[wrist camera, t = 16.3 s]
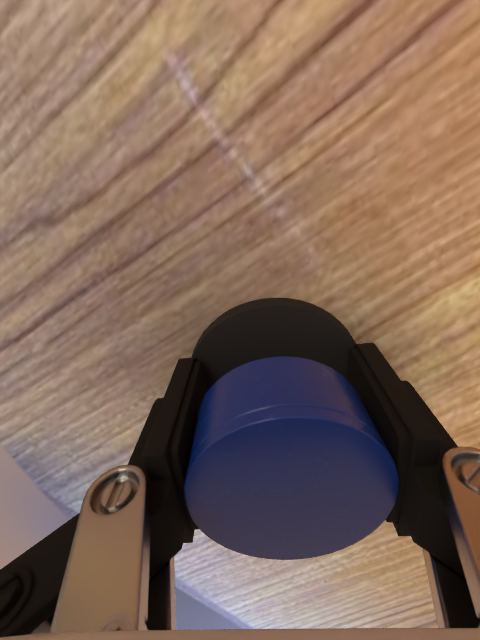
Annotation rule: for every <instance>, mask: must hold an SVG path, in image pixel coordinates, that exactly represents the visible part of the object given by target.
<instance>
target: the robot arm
mask: <svg viewBox="0 0 480 640" xmlns="http://www.w3.org/2000/svg"><path fill="white" fill-rule="evenodd" d="M347 380H348V381H349V382H350V383H351V385H352V386H353V387H354V388H355V390H356V392H357V393H358V395H359V397H360V399H361V401H362V402H363V404H364V406H365V408H366V410H367V412H368V414H369V415H370V417H371V419H372V421H373V423H374V425H375V427H376V428H377V430H378V432H379V434H380V436H381V438H382V439H383V441H384V443H385V445H386V447H387V449H388V451H389V452H390V454H391V456H392V458H393V460H394V462H395V465H396V467H397V470H398V476H399V492H398V496H397V500H396V502H395V505H394V507H393V509H392V511H391V512H390V514H389V515H388V517H387V518H386V519H385V520H386V521H387V522H393V524H394V526H395V529H396V531H397V534H398V536H411V537H412V539H413V542H415V543H416V544H417V545H419V546H420V547H422V548H423V553H424V558H425V563H426V568H427V573H428V578H429V583H430V588H431V594H432V599H433V604H434V609H435V614H436V619H437V624H438V628H353V629H227V630H226V629H224V630H223V629H222V630H176V606H175V571H174V556H175V555H176V554H177V553H178V552H179V551H180V550H181V549H182V544H183V543H192V542H193V536H194V530H195V529H199V528H198V526H197V525H196V524H195V523H194V521H193V520H192V518H191V517H190V515H189V512H188V510H187V507H186V504H185V499H184V484H185V479H186V474H187V468H188V463H189V458H190V452H191V447H192V442H193V436H194V431H195V426H196V420H197V415H198V410H199V407H200V405H201V402H202V400H203V398H204V396H205V395H206V393H207V392H208V385H207V381H206V376H205V371H204V366H203V362H202V361H197V359H196V358H183V359H179V360H178V363H177V365H176V368H175V370H174V373H173V375H172V378H171V381H170V383H169V386H168V388H167V391H166V393H165V396H164V398H158V399H156V400H155V402H154V404H153V406H152V409H151V411H150V414H149V416H148V418H147V421H146V423H145V425H144V428H143V430H142V432H141V435H140V437H139V439H138V442H137V444H136V446H135V449H134V451H133V454H132V456H131V458H130V461H129V463H128V465H122V466H117V467H115V468H112V469H110V470H108V471H107V472H105V473H103V474H102V475H101V476H99V477H98V478H97V479H96V480H95V481H94V482H93V483H92V485H91V486H90V487H89V489H88V490H87V492H86V495H85V497H84V499H83V503H82V507H81V511H80V513H79V514H77V515H76V516H75V517H73V518H72V519H70V520H69V521H68V522H66V523H65V524H63V525H62V526H61V527H59V528H58V529H57V530H55V531H54V532H52V533H51V534H50V535H48V536H47V537H45V538H44V539H43V540H41V541H40V542H38V543H37V544H36V545H34V546H33V547H31V548H30V549H29V550H27V551H26V552H25V553H23V554H22V555H20V556H19V557H18V558H16V559H15V560H13V561H12V562H10V563H9V564H8V565H6V566H5V567H4V568H2V569H1V570H0V640H480V449H477V448H473V447H458V446H457V445H456V443H455V442H454V441H453V439H452V438H451V437H450V435H449V434H448V433H447V431H446V430H445V429H444V427H443V426H442V425H441V424H440V422H439V421H438V420H437V418H436V417H435V416H434V414H433V413H432V412H431V410H430V409H429V408H428V406H427V405H426V404H425V402H424V401H423V400H422V398H421V397H420V396H419V394H418V393H417V392H416V390H415V389H414V388H413V386H412V385H411V384H410V383H409V382H408V381H401V380H400V379H399V377H398V376H397V375H396V373H395V372H394V370H393V369H392V368H391V366H390V365H389V363H388V362H387V361H386V359H385V358H384V356H383V355H382V354H381V352H380V351H379V349H378V348H377V347H376V345H375V344H374V343H364V344H355V345H354V349H349V351H348V371H347Z"/></svg>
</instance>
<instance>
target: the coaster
mask: <svg viewBox="0 0 480 640" xmlns="http://www.w3.org/2000/svg"><path fill="white" fill-rule="evenodd" d="M355 344H356V343H355V341H354V340H353V338H352V337H351V335H350V333H349V332H348V330H347V329H346V328H345V327H344V326H343V324H342V323H341V322H340V321H339V320H337V319H336V318H335V317H334V316H333V315H331V314H330V313H328V312H327V311H325V310H323V309H322V308H319V307H317V306H315V305H313V304H310V303H307V302H303V301H300V300H294V299H288V298H268V299H260V300H255V301H251V302H248V303H245V304H242V305H239V306H237V307H235V308H233V309H231V310H229V311H227V312H226V313H224V314H222V315H221V316H219V317H218V318H217V319H216V320H215V321H214V322H212V323H211V324H210V325H209V327H208V328H207V329H206V330H205V331H204V332H203V334H202V336H201V337H200V339H199V340H198V342H197V345H196V347H195V349H194V352H193V355H192V358H196V359H197V361H202V362H203V366H204V371H205V376H206V381H207V385H208V390H209V389H210V388H211V387H212V385H213V384H215V383H216V382H217V381H218V380H219V379H220V378H221V377H222V376H224V375H225V374H227V373H228V372H229V371H231V370H233V369H235V368H237V367H238V366H241V365H243V364H246V363H248V362H251V361H255V360H258V359H262V358H269V357H279V356H289V357H300V358H305V359H310V360H313V361H316V362H319V363H322V364H324V365H326V366H328V367H330V368H332V369H334V370H335V371H337V372H338V373H340V374H341V375H342V376H343V377H345V378H346V379H347V371H348V351H349V349H354V345H355Z"/></svg>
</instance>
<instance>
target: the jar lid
mask: <svg viewBox="0 0 480 640" xmlns="http://www.w3.org/2000/svg"><path fill="white" fill-rule="evenodd" d="M398 492H399V476H398V470H397V467H396V465H395V462H394V460H393V458H392V456H391V454H390V452H389V451H388V449H387V447H386V445H385V443H384V441H383V439H382V438H381V436H380V434H379V432H378V430H377V428H376V427H375V425H374V423H373V421H372V419H371V417H370V415H369V414H368V412H367V410H366V408H365V406H364V404H363V402H362V401H361V399H360V397H359V395H358V393H357V392H356V390H355V388H354V387H353V386H352V385H351V383H350V382H349V381H348V380H347V379H346V378H345V377H343V376H342V375H341V374H340V373H338V372H337V371H335V370H334V369H332V368H330V367H328V366H326V365H324V364H322V363H319V362H316V361H313V360H310V359H305V358H300V357H289V356H279V357H269V358H262V359H258V360H255V361H251V362H248V363H246V364H243V365H241V366H238V367H237V368H235V369H233V370H231V371H229V372H228V373H227V374H225V375H224V376H222V377H221V378H220V379H219V380H218V381H217V382H216V383H215V384H213V385H212V387H211V388H210V389H209V390H208V392H207V393H206V395H205V396H204V398H203V400H202V402H201V405H200V407H199V410H198V415H197V420H196V426H195V431H194V436H193V442H192V447H191V452H190V458H189V463H188V468H187V474H186V479H185V484H184V499H185V504H186V507H187V510H188V512H189V515H190V517H191V518H192V520H193V521H194V523H195V524H196V525H197V526H198V528H199V529H200V530H201V531H202V532H203V533H204V534H206V535H207V536H208V537H209V538H211V539H212V540H214V541H215V542H217V543H218V544H220V545H222V546H224V547H226V548H228V549H231V550H233V551H236V552H239V553H242V554H245V555H249V556H254V557H258V558H266V559H277V560H295V559H305V558H312V557H317V556H322V555H326V554H329V553H333V552H336V551H339V550H341V549H344V548H346V547H348V546H351V545H353V544H355V543H356V542H358V541H360V540H362V539H363V538H365V537H366V536H368V535H369V534H371V533H372V532H373V531H374V530H375V529H377V528H378V527H379V526H380V525H381V524H382V523H383V521H384V520H385V519H386V518H387V517H388V515H389V514H390V512H391V511H392V509H393V507H394V505H395V502H396V500H397V496H398Z"/></svg>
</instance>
